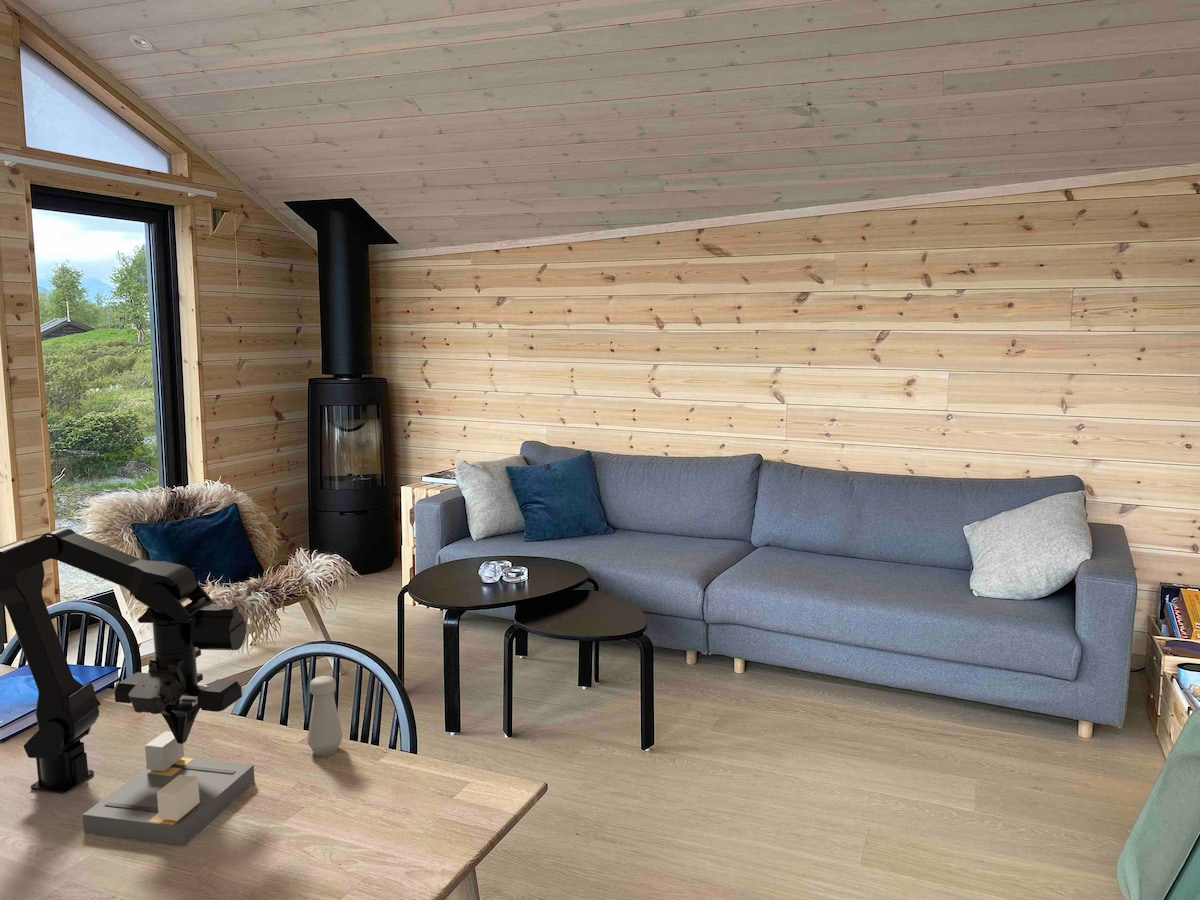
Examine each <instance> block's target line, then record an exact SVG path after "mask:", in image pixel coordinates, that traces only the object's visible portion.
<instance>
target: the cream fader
mask: <svg viewBox="0 0 1200 900" xmlns="http://www.w3.org/2000/svg"><path fill="white" fill-rule="evenodd" d="M157 800H158V813H159V819H166V820H174V821H178V820H179V819H181V818H182V817H183V816H184V815H185V814H187V813H188V812H189V811H190V810H191V809H192V808H194V807H195V806H196V805H197V804H198V803H199V802H200V800H199V786H198V777H195V776H186V775H179V776H177V777H176V778H175V779H173V780H172V781H171V782H170V783H168V784H167V785H166V786H164V787H163V788H162V789H160V790H159V791H158V792H157Z"/></svg>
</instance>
